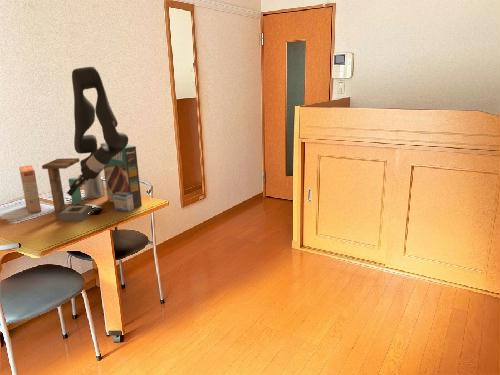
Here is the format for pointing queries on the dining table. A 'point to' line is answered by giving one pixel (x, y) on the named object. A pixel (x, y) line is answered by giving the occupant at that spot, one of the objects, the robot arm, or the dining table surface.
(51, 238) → the dining table surface
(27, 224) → the dining table surface
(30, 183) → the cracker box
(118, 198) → the medicine box
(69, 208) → the socket block
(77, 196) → the peg
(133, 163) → the cake mix box
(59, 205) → the wooden pedestal stand
